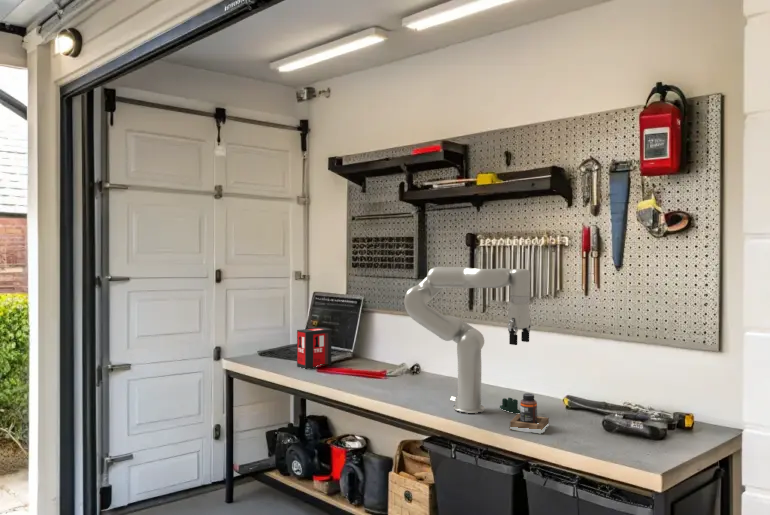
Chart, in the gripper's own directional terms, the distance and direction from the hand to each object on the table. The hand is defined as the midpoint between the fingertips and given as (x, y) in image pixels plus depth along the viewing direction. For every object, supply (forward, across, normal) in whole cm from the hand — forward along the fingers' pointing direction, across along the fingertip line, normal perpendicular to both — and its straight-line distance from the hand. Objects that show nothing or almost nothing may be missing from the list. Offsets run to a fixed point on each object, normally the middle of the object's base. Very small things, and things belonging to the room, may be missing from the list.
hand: (519, 343), depth 247 cm
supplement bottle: (+28, +14, +12) cm, 33 cm away
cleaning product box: (+29, -11, -130) cm, 134 cm away
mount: (+29, -2, -5) cm, 29 cm away
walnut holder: (+28, +14, +12) cm, 34 cm away
